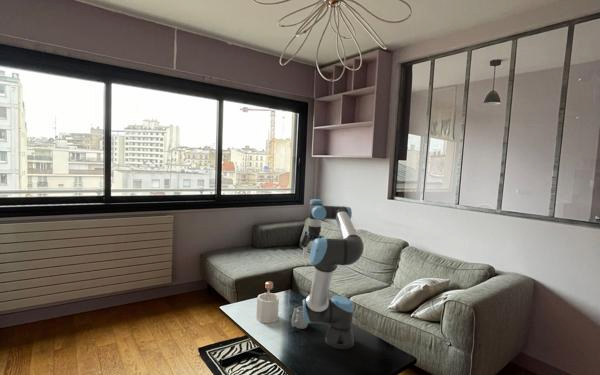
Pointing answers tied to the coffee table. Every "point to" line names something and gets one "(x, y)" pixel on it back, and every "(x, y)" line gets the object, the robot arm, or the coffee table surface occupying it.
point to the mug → (298, 318)
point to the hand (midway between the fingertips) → (312, 260)
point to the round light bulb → (268, 286)
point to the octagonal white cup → (267, 308)
